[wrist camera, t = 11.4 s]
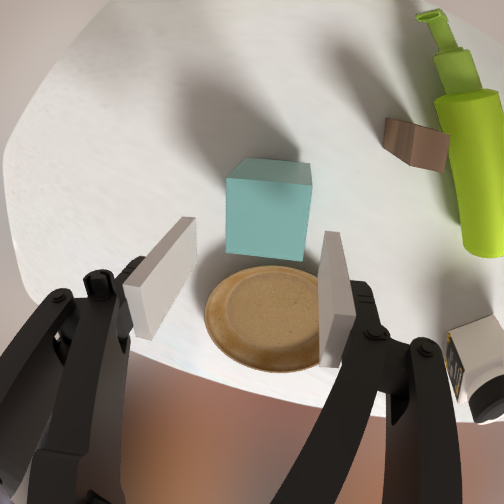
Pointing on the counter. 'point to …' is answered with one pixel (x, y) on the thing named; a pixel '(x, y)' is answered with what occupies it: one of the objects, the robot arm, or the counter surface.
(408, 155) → the post walnut
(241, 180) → the teal foam cube
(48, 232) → the counter surface
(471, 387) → the medicine bottle
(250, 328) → the plant saucer
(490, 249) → the soap dispenser
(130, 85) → the counter surface
